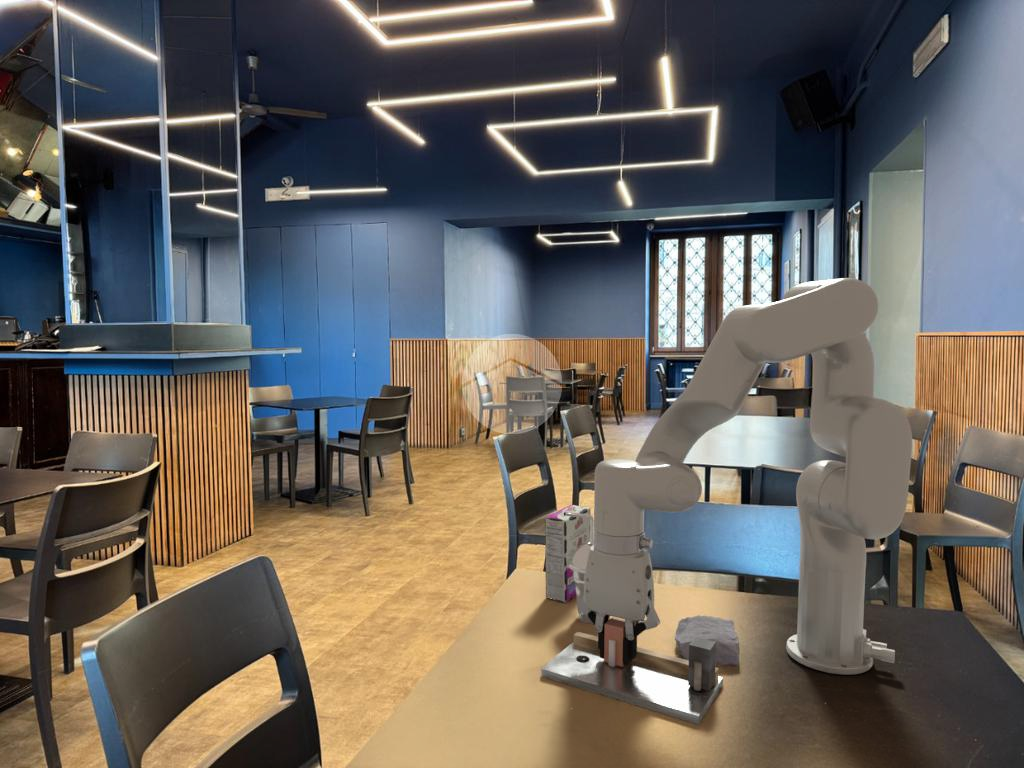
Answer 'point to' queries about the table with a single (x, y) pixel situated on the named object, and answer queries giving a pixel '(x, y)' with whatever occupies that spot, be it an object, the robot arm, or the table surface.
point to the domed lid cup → (581, 564)
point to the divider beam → (674, 660)
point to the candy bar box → (563, 550)
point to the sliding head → (614, 641)
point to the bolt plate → (632, 683)
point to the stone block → (709, 637)
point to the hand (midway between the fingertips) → (617, 656)
